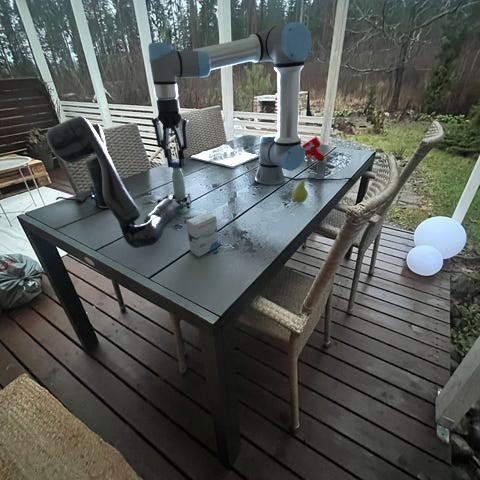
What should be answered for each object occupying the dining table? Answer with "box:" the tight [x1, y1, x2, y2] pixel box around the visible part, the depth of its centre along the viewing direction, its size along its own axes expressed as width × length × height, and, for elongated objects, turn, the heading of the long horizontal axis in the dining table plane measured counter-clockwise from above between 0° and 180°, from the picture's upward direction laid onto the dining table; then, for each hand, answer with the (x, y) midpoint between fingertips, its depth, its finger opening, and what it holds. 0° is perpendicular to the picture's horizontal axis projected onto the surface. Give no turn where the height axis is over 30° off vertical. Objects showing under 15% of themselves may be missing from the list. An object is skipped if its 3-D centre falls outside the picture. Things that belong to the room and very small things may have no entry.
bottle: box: [171, 168, 189, 215], centre depth 109 cm, size 5×5×21 cm
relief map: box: [190, 143, 259, 169], centre depth 179 cm, size 27×35×5 cm
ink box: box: [185, 211, 219, 258], centre depth 87 cm, size 8×5×12 cm, turn 134°
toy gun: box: [301, 135, 326, 164], centre depth 171 cm, size 18×4×15 cm
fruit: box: [291, 174, 311, 204], centre depth 118 cm, size 7×8×12 cm
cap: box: [170, 158, 180, 169], centre depth 104 cm, size 4×4×2 cm
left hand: (182, 194), depth 113 cm, fingers closed on bottle, 4 cm apart
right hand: (176, 166), depth 104 cm, fingers closed on cap, 4 cm apart
